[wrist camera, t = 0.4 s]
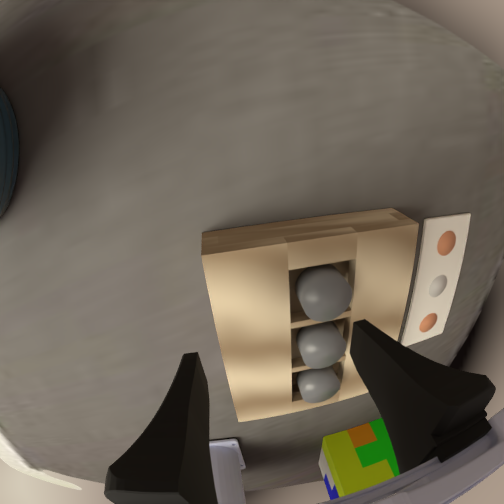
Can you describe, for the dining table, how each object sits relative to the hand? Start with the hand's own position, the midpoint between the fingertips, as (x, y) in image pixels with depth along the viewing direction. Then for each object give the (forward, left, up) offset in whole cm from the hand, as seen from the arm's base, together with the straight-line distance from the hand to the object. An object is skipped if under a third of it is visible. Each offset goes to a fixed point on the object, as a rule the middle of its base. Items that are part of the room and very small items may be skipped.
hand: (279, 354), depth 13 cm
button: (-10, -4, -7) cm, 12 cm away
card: (-5, -17, -9) cm, 20 cm away
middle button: (-5, -4, -6) cm, 9 cm away
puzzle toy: (-32, -12, -9) cm, 36 cm away
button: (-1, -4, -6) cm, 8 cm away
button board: (-5, -4, -9) cm, 11 cm away
